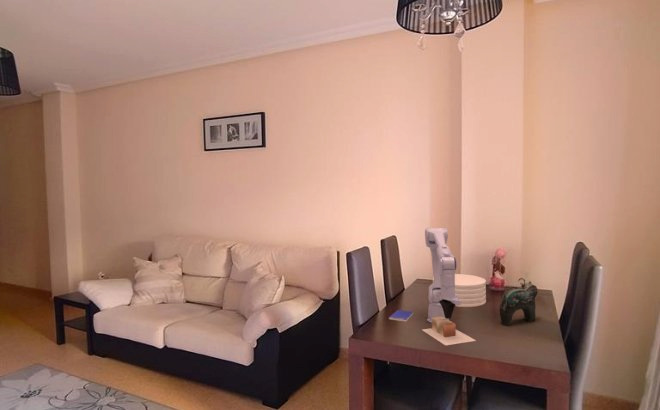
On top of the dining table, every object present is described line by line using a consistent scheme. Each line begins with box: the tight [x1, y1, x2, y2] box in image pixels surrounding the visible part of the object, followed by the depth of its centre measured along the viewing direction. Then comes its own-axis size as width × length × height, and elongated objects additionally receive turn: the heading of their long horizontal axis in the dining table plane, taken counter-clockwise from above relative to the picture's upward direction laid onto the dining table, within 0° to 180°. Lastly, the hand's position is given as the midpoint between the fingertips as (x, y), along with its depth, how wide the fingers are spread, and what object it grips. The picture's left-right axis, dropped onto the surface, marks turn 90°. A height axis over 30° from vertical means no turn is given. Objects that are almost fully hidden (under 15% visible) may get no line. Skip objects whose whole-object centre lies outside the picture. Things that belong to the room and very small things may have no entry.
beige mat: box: [422, 327, 477, 346], centre depth 157 cm, size 18×14×1 cm
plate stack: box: [432, 273, 487, 308], centre depth 210 cm, size 28×28×12 cm
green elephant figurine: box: [499, 277, 538, 327], centre depth 171 cm, size 20×6×20 cm, turn 111°
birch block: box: [431, 316, 457, 337], centre depth 159 cm, size 5×5×10 cm
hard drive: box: [388, 309, 414, 322], centre depth 183 cm, size 2×8×12 cm
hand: (448, 317), depth 156 cm, fingers closed
